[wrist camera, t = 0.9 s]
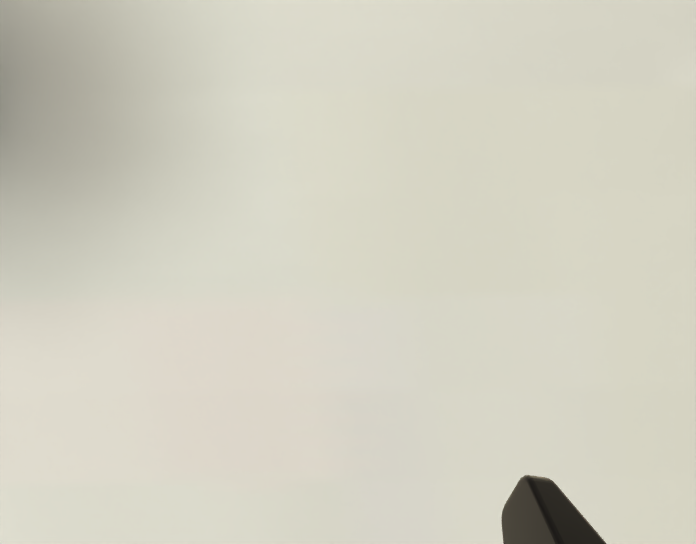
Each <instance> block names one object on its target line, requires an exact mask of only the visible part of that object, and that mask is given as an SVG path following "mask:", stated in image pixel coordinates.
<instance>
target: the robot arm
mask: <svg viewBox="0 0 696 544" xmlns="http://www.w3.org/2000/svg"><path fill="white" fill-rule="evenodd" d="M502 532H503V543H504V544H606V543H605V541H604V540H603V539H602V538H601V537H600V535H599V534H598V533H597V532H596V531H595V530H594V528H593V527H592V526H591V525H590V524H589V523H588V521H587V520H586V519H585V518H584V517H583V516H582V514H581V513H580V512H579V511H578V510H577V509H576V507H575V506H574V505H573V504H572V503H571V501H570V500H569V499H568V498H567V497H566V496H565V494H564V493H563V492H562V491H561V490H560V489H559V487H558V486H557V485H556V484H555V483H554V482H553V481H552V480H550V479H548V478H545V477H538V476H530V475H525V476H524V477H522V478H521V479H520V480H519V482H518V484H517V485H516V487H515V489H514V490H513V492H512V494H511V495H510V497H509V499H508V500H507V502H506V504H505V506H504V508H503V512H502Z"/></svg>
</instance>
